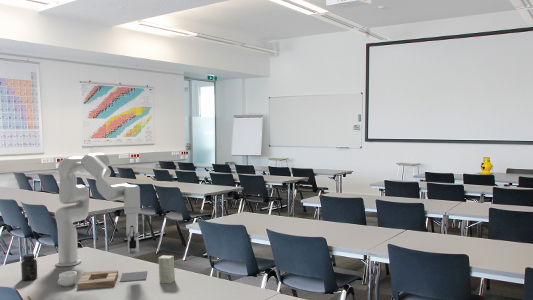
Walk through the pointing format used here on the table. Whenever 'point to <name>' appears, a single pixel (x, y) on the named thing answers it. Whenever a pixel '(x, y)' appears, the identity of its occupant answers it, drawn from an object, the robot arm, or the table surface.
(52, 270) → the table surface
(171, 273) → the skincare box
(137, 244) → the grey light bulb
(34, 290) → the table surface
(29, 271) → the supplement bottle
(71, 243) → the robot arm
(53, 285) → the table surface
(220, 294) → the table surface
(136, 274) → the mat
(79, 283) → the wooden square frame
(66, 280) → the teacup
